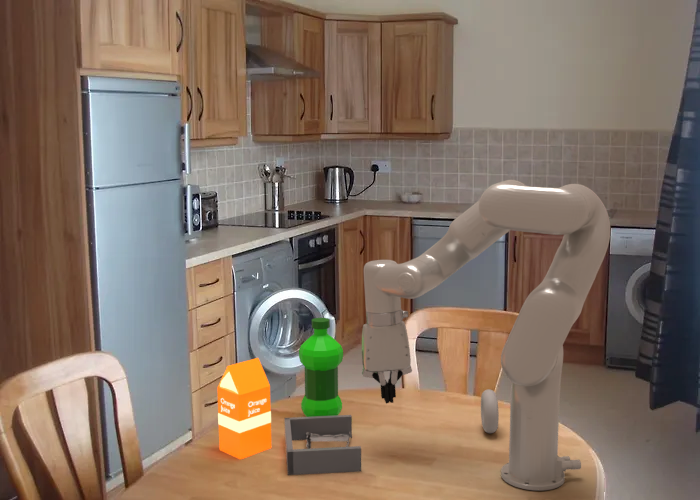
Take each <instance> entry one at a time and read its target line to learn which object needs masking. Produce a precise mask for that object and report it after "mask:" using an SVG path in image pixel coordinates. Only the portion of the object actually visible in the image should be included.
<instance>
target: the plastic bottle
mask: <svg viewBox="0 0 700 500" xmlns="http://www.w3.org/2000/svg"><path fill="white" fill-rule="evenodd" d="M330 322H331V321H330V319H329V318H328V317H314V318H312V319H311V328H312V329H313V334H311V336H309V337H308V338H307V339H306V340H305V341H304V342H303V343H302V344H301V345H300V347H299V349H298V357H299V362H300V364H302V366H303V367H304V396H303V397H302V400H301V403H300V407H301V411H302V413H303V414H304V417H314V416H336V415H340V413H341V412H342V409H343V401H342V399H341V397H340V396H339V367H338V366H340V364H341V363H342V362H343V358H344V349H343V347H342V345H341V344H340V343H339V342H338V341H337V340H336V339H335V338H333V336H332V335H330V334H329V332H328V329H330V327H331V323H330Z"/></svg>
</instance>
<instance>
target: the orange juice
mask: <svg viewBox="0 0 700 500" xmlns="http://www.w3.org/2000/svg"><path fill="white" fill-rule="evenodd" d="M269 382H270V381H269V380H268V377H267V375H266V372H265V370H264V368H263V365H262V363H261V360H260V358H259V357H256V358H252V359H249V360H244V361H240V362H236V363H233V364H230V365H226V369H225V371H224V373H223V375H222V377H221V379H220V382H219V384H218V386H217V387H216V389H217V412H218V413H217V420H218V421H217V422H218V423H217V424H218V439H219V442H218V447H219V451H220V452H223V453H225V454H227V455H230V456H232V457H233V458H236V459H238V460H243V459H246V458H249V457H251V456H254V455H256V454H260V453H261V452H265V451H268V450H270V449H272V411H271V409H272V407H271V385H270V383H269Z"/></svg>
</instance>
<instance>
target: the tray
mask: <svg viewBox="0 0 700 500" xmlns="http://www.w3.org/2000/svg"><path fill="white" fill-rule="evenodd" d="M352 423H353V422H352V415H351V414H343V415H342V414H339V415H336V416H314V417H306V416H297V417H296V416H294V417H284V441H285V443H284V445H285V457H286V471H287V472H286V473H287V476H295V475H301V476H302V475H317V474H335V473H337V474H338V473H352V472H353V473H355V472H357V473H358V472H362V446H361V445H355V446H348V447H346V446H339V447H338V446H337V447H334V446H333V447H317V448H316V447H315V448H314V447H313V448H310V449H308V448H297V449H295V448H293V441H307V438H306V437H307V435H306V433H307V432H309V434H310V433H312V435H313V434H318V435H319V436H321V437H322V436H323V435H332V436H335V435H339V434H344V435H347V436H349V431H350V438H349V439H351V438H353V436H352V435H353V434H352V433H353V432H352V430H353V427H352V426H353V425H352Z"/></svg>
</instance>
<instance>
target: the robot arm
mask: <svg viewBox="0 0 700 500" xmlns="http://www.w3.org/2000/svg"><path fill="white" fill-rule="evenodd" d="M610 222H611V221H610V216H609V213H608V210H607V208H606V206H605V205H604V203H603V201H602V200H601V198H600V197H599V196H598V194H596V193H595V192H594V191H593V190H592V189H591V188H590V187H587V186H586V185H583V184H581V183H569V184H565V185H562V186H560V187H545V186H543V187H542V186H530V185H526V183H523V182H521V181H519V180H516V179H507V180H502V181H499V182H497V183H493V184H491V185H489V186H488V187H487V188H486V189H485V190H484V191H483V192H482V194H481V196H480V198H479V199H478V200H477V201H476V202H474V203H473V205H471V206H470V207H469V208H467V209H466V210H465V211H464V212H462V213H461V214H460V215H459V216H457V217H456V218H455V219H454V220H452V222H451V223H450V225H449V227H448V230H447V232H446V233H445V234H444V235H443V236H442V237H441V238H440V239H439V240H438V241H436V243H434V244H433V245H432V246H431V247H429V248H427V250H425V251H424V252H423V253H421V254H420V255H419V256H417V257H415V258H412V259H410V260H407V261H405V262H403V263H397V262H396V261H395V260H392V259H378V260H377V259H376V260H370V261H368V262H366V263H365V264H364V265H363V284H364V285H363V286H364V299H365V301H364V302H365V316H366V317H365V318H366V323H365V324H363V325H362V331H361V362H362V370H361V371H362V372H361V374H362V377H365V378H370V379H374V380H375V381H376V382H377V383H379V384H380V396H381V399H382V400H383V401H384V402H385V404H389V403H390V404H392V403H393V404H394V399H395V398H396V396H397V392H396V385H397V383H398V381H399V380H400V379H401V378H402V376H405V375H408V374H411V373H412V372H413V368H412V366H411V363H412V360H411V359H412V358H411V351H410V343H409V335H408V330H407V327H406V323H405V321H403V320H404V319H406V318H408V317H409V311H408V310H403V309H402V301H401V299H402V298H403V299H413V300H414V299H417V298H419V297H421V296H423V295H425V294H426V293H428V292H430V291H432V290H433V289H435V288H437V287H439V286H440V285H441V284H442V283H443V282H445V281H446V280H447V279H449V278H450V277H451V276H452V275H454V274H455V273H456V272H457V271H459V270H460V269H461V268H463V267H464V266H465V265H466V264H467V263H469V262H470V261H472V260H474V259H476V258H477V257H479V255H480V254H483V252H485V251H486V250H487V249H488V248H490V246H492V245H494V243H496V242H497V241H498V240H500V239H501V238H502V237H504V236H505V235H506V234H507V233H509V232H510V231H515V232H525V233H535V234H543V235H544V234H545V235H546V234H547V235H554V236H555V235H556V236H562V235H563V237H562V240H561V242H560V244H559V246H558V247H557V250H556V251H555V254H554V256H553V259H552V262H551V264H550V265H549V268H548V270H547V272H546V275H545V276H544V278H543V279H542V281H541V282H540V284H538V285H537V286H536V287H535V288H534V289H533V290H532V291H531V292H530V293H529V294H528V296H527V297H526V299H525V300H524V302H523V304H522V306H521V308H520V310H519V313H518V315H517V317H516V319H515V321H514V323H513V326H512V328H511V330H510V333H509V335H508V337H507V340H506V342H505V343H504V345H503V348H502V351H501V355H500V365H501V368H502V371H503V373H504V376H506V378H507V379H508V380H509V381H510V382H511V385H510V386H511V387H510V402H509V404H510V407H509V409H510V412H509V444H508V445H509V449H508V450H509V453H508V462H507V463H505V464H503V465H502V466H501V469H500V476H501V478H502V480H504V482H505V483H507V484H509V485H511V486H512V487H514V488H515V487H516V488H519V489H523V490H527V491H537V492H538V491H550V490H554V489H557V488H559V487H561V486H562V485H563V484H564V483H565V477H566V475H565V472H566V471H567V470H573V471H574V470H581V469H582V462H581V460H580V459H571V456H570V455H569V456H568V455H567V456H559V454H558V449H559V447H558V446H559V427H560V426H559V425H560V424H559V420H560V418H559V417H560V403H561V402H560V401H561V399H560V398H561V397H560V396H561V380H562V372H563V364H564V363H563V362H564V346H563V345H564V344H565V342H566V339H567V337H568V335H569V333H570V331H571V329H572V327H573V325H574V323H576V321H577V320H578V318H579V317H580V315H581V313H582V310H583V308H584V304H585V302H586V299H587V297H588V295H589V293H590V290H591V288H592V286H593V284H594V282H595V279H596V278H597V274H598V272H599V270H600V268H601V265H602V263H603V261H604V259H605V256H606V253H607V250H608V248H609V244H610V239H611V238H610V237H611V223H610ZM384 372H389V378H388V381H387V380H386V377H385V373H384Z"/></svg>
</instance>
